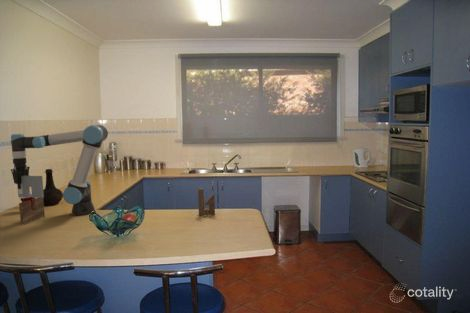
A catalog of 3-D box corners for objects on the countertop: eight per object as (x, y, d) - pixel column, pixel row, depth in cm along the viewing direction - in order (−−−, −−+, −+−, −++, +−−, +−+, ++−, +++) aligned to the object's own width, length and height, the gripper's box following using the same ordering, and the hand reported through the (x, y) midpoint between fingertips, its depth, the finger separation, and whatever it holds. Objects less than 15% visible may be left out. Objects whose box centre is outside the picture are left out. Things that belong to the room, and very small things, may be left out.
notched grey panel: (43, 197, 232) (42, 175, 230) (41, 197, 230) (39, 176, 228) (20, 196, 236) (19, 175, 234) (18, 197, 234) (16, 176, 232)
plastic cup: (19, 211, 261) (18, 195, 260) (36, 208, 268) (34, 192, 266) (21, 214, 253) (20, 197, 251) (38, 211, 259) (37, 195, 258)
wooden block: (215, 214, 238) (214, 188, 236) (198, 215, 237) (197, 189, 235) (214, 213, 242) (213, 187, 240) (198, 214, 240) (197, 188, 238)
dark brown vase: (39, 203, 286) (36, 168, 283) (63, 200, 293) (61, 166, 290) (37, 208, 270) (34, 171, 267) (63, 205, 277) (60, 169, 274)
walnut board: (44, 217, 243) (43, 197, 242) (23, 224, 226) (21, 203, 224) (42, 217, 243) (40, 196, 242) (21, 224, 226) (19, 203, 225)
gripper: (23, 156, 240) (26, 190, 242) (4, 159, 225) (8, 195, 228) (33, 156, 238) (36, 190, 240) (14, 159, 223) (18, 195, 226)
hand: (22, 193), depth 234 cm, fingers closed on notched grey panel, 2 cm apart
